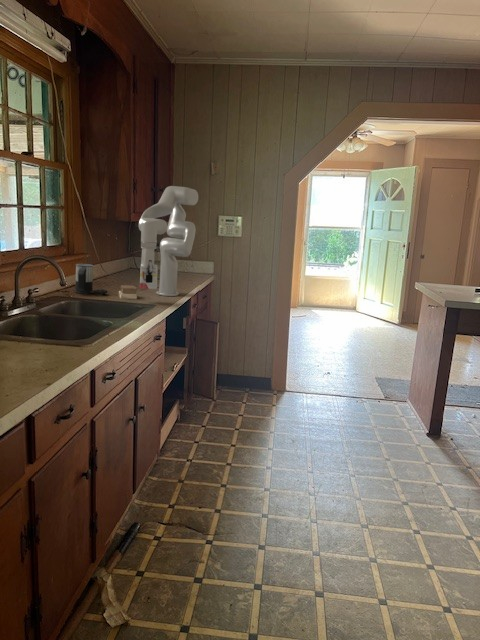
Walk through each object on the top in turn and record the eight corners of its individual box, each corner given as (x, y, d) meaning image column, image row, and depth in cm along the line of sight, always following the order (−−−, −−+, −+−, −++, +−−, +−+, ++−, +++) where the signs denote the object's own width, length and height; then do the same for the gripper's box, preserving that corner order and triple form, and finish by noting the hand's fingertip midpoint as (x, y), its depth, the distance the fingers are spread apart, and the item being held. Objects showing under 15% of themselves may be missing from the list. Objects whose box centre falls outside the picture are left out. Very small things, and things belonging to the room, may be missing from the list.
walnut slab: (120, 291, 254) (120, 285, 253) (134, 291, 257) (134, 285, 256) (122, 293, 248) (122, 287, 247) (136, 293, 250) (136, 288, 250)
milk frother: (73, 290, 257) (74, 263, 254) (104, 291, 264) (104, 264, 260) (76, 295, 244) (77, 266, 241) (108, 296, 251) (109, 268, 248)
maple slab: (118, 296, 255) (118, 290, 254) (134, 296, 258) (134, 291, 257) (120, 299, 248) (121, 293, 247) (136, 299, 251) (136, 294, 250)
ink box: (139, 288, 240) (140, 265, 237) (139, 286, 245) (140, 263, 242) (157, 289, 242) (157, 265, 239) (157, 287, 247) (157, 264, 244)
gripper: (137, 242, 244) (137, 277, 249) (144, 247, 229) (143, 284, 233) (152, 243, 247) (151, 277, 251) (160, 247, 231) (158, 284, 236)
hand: (147, 280), depth 242 cm, fingers closed on ink box, 5 cm apart
